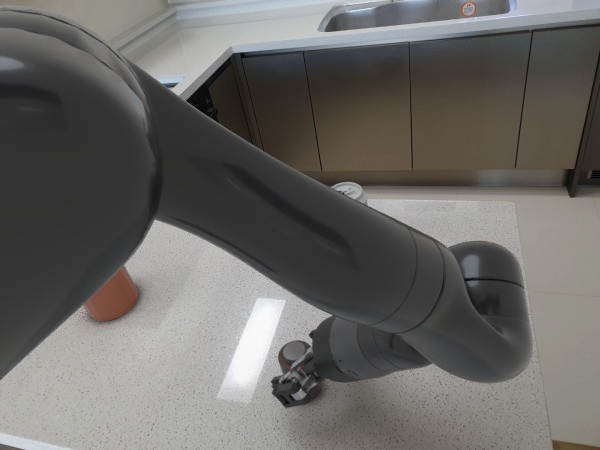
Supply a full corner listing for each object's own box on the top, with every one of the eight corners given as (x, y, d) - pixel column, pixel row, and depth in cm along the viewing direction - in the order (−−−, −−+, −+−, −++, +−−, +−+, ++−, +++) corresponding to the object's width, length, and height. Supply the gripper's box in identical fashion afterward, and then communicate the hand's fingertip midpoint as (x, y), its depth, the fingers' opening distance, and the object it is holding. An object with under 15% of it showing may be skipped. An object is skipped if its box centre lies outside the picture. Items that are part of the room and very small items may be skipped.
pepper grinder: (308, 407, 63) (297, 371, 58) (281, 391, 66) (269, 356, 61) (327, 381, 66) (319, 344, 61) (301, 366, 69) (290, 330, 64)
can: (328, 234, 92) (319, 185, 84) (364, 225, 92) (358, 175, 85) (338, 258, 86) (329, 207, 78) (376, 248, 86) (371, 196, 79)
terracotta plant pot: (148, 293, 87) (127, 255, 81) (107, 328, 82) (81, 290, 76) (110, 272, 94) (88, 235, 88) (70, 303, 89) (43, 265, 83)
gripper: (371, 274, 53) (307, 305, 66) (298, 367, 45) (242, 381, 58) (414, 321, 53) (342, 343, 67) (350, 422, 45) (283, 424, 59)
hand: (296, 361), depth 62 cm, fingers open, 8 cm apart
